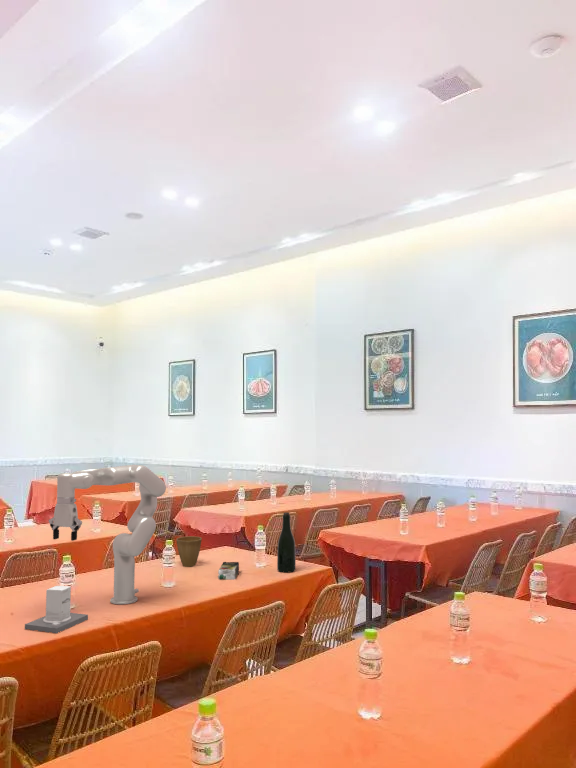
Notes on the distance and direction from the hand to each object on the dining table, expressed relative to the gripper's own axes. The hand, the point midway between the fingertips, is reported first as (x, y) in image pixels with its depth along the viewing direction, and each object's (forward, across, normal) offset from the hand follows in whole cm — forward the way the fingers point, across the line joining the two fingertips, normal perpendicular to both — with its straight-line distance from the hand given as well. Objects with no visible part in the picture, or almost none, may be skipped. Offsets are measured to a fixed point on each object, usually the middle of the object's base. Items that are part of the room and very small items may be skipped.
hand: (64, 539), depth 291 cm
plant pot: (+32, -6, -105) cm, 110 cm away
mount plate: (+32, -8, +14) cm, 36 cm away
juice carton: (+33, -39, -90) cm, 104 cm away
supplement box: (+30, -8, +14) cm, 34 cm away
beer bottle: (+32, -65, -112) cm, 134 cm away
